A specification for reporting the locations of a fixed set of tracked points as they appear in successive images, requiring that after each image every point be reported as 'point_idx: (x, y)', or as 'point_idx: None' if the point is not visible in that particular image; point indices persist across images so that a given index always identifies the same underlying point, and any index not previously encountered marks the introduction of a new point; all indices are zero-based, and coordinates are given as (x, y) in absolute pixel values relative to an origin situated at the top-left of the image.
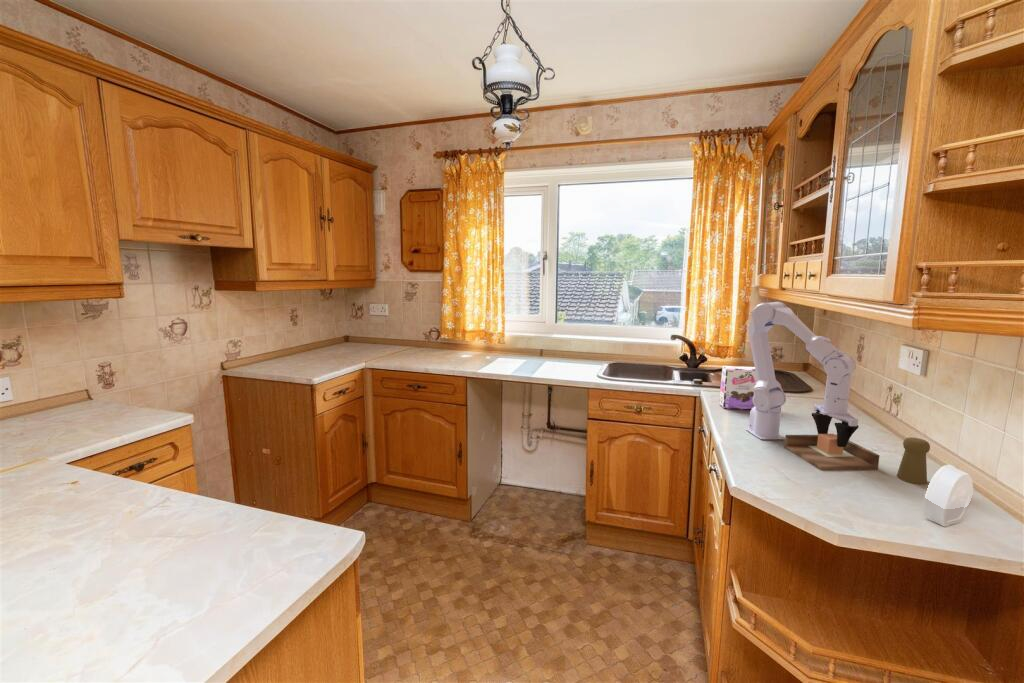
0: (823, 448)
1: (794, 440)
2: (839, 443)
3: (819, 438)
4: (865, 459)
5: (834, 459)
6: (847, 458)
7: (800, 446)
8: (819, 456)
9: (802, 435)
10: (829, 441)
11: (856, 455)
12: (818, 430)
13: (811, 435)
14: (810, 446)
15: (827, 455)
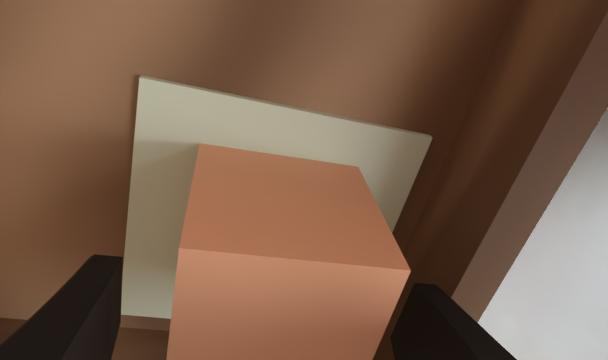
0: (269, 169)
1: (556, 10)
2: (66, 283)
3: (363, 231)
4: (13, 332)
5: (71, 103)
6: (90, 239)
7: (466, 55)
8: (173, 10)
9: (555, 154)
10: (183, 232)
11: (123, 334)
12: (467, 334)
13: (497, 248)
14: (412, 144)
15: (165, 109)
